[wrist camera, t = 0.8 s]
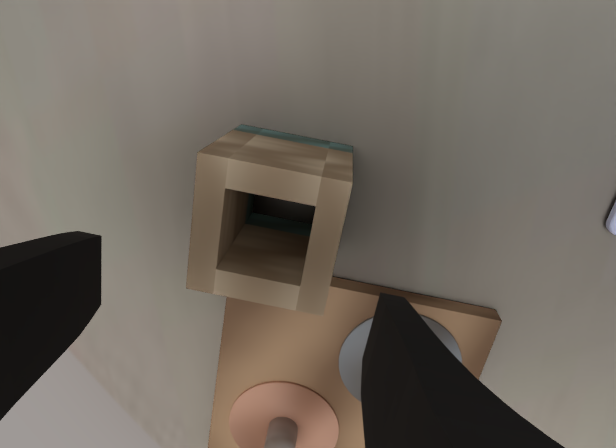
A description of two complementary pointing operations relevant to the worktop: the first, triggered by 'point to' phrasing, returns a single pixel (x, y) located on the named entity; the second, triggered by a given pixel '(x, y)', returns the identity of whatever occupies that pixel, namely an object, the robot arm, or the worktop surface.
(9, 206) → the worktop surface
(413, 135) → the worktop surface
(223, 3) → the worktop surface
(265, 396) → the pin board
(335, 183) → the sleeve
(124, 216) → the worktop surface
